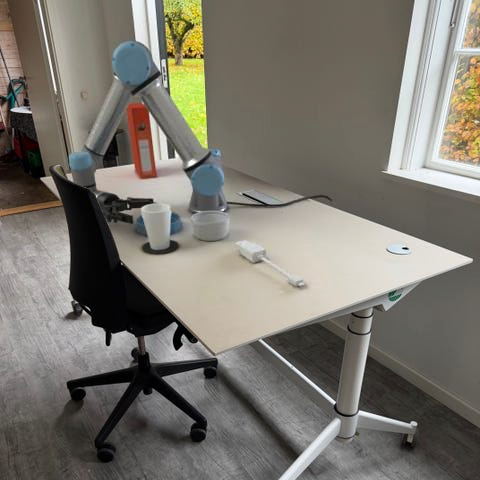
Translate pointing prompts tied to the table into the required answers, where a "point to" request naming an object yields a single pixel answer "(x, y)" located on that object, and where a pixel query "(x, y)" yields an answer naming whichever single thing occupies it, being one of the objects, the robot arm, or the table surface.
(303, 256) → the table surface
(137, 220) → the bowl
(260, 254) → the charging cable
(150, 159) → the file binder
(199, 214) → the ramekin
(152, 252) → the mat
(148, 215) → the foam cup
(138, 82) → the robot arm
